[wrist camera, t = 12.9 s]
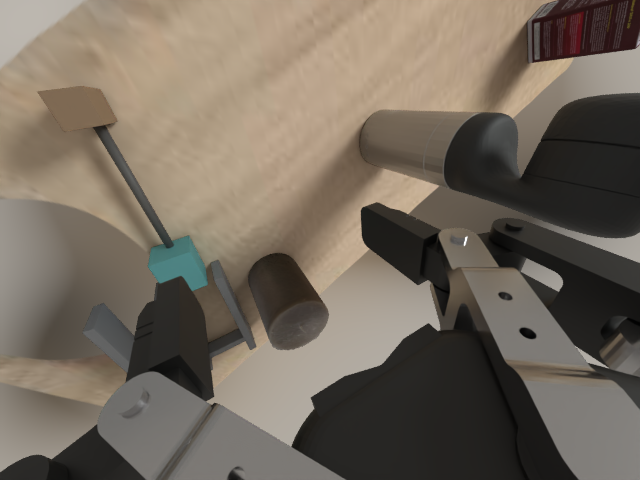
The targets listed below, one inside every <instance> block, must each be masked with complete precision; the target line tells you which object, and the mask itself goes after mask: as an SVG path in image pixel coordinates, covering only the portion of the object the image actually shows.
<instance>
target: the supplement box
mask: <svg viewBox="0 0 640 480" xmlns="http://www.w3.org/2000/svg"><path fill="white" fill-rule="evenodd" d="M527 24H528V62H529V63H534V62H542V61H549V60H557V59H564V58H572V57H579V56H587V55H594V54H602V53H609V52H617V51H624V50H632V49H636V48H637V47H638V46H639V45H640V0H557V1H554V2H550V3H547V4H543V5H542V6H541V7H540V9H539V10H538V11H537V12H536V13H535V14H534V15H533V16H532V17H531V18H530V19H529V21H528V22H527Z"/></svg>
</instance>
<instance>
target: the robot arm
mask: <svg viewBox="0 0 640 480" xmlns="http://www.w3.org/2000/svg"><path fill="white" fill-rule="evenodd" d="M517 146H518V131H517V126H516V124H515V122H514V120H513V119H512V118H511V117H510V116H508V115H506V114H503V113H487V112H443V111H407V110H380V111H378V112H376V113H374V114H373V115H372V116H370V118H369V119H368V120H367V121H366V123H365V125H364V127H363V129H362V132H361V137H360V150H361V153H362V156H363V157H364V159H365V160H366V161H367V162H368V163H370V164H372V165H376V166H379V167H382V168H385V169H388V170H391V171H394V172H398V173H401V174H404V175H407V176H410V177H414V178H417V179H420V180H423V181H426V182H430V183H433V184H436V185H439V186H443V187H446V188H449V189H452V190H455V191H459V192H463V193H466V194H469V195H472V196H476V197H479V198H482V199H485V200H488V201H491V202H494V203H497V204H500V205H503V206H505V207H508V208H511V209H513V210H516V211H519V212H521V213H524V214H526V215H529V216H532V217H534V218H537V219H540V220H542V221H545V222H548V223H551V224H553V225H556V226H559V227H562V228H565V229H568V230H572V231H576V232H579V233H583V234H587V235H592V236H597V237H604V238H626V237H630V236H634V235H636V234H637V233H639V232H640V93H625V94H611V95H600V96H593V97H587V98H583V99H579V100H575V101H573V102H570V103H568V104H566V105H565V106H563V107H562V108H561V109H560V110H559V111H558V112H557V114H556V115H555V116H554V118H553V119H552V121H551V123H550V124H549V126H548V128H547V130H546V132H545V133H544V135H543V137H542V139H541V142H540V143H539V144H538V146H537V148H536V150H535V152H534V154H533V156H532V158H531V160H530V162H529V164H528V165H527V167H526V169H525V171H524V174H523V175H522V177H521V176H520V173H519V170H518V166H517ZM361 227H362V238H363V241H364V243H365V245H366V246H367V247H368V248H370V249H371V250H372V251H373V252H375V253H376V254H377V255H379V256H380V257H382V258H383V259H384V260H385V261H387V262H388V263H389V264H391V265H392V266H393V267H395V268H396V269H397V270H399V271H400V272H401V273H402V274H404V275H405V276H406V277H408V278H409V279H410V280H412V281H413V282H414V283H416V284H417V285H420V284H421V283H423V282H425V281H427V280H429V281H430V282H431V284H430V290H431V293H432V297H433V301H434V304H435V308H436V311H437V315H438V319H439V322H440V331H437V330H436V329H434V328H433V327H432V326H431V325H430V324H427V325H425V326H423V327H422V328H420V329H419V330H417V331H415V332H414V333H412V334H411V335H409V336H407V337H406V338H404V339H403V340H402V341H401V343H400V344H399V345H398V346H397V347H396V349H395V350H394V351H393V352H392V353H391V355H390V356H389V357H388V358H387V359H386V361H385V362H384V363H383V364H382V365H380V366H377V367H374V368H371V369H368V370H364V371H361V372H358V373H354V374H351V375H348V376H344V377H343V378H341V379H339V380H338V381H336V382H335V383H333V384H331V385H330V386H328V387H327V388H325V389H324V390H322V391H320V392H319V393H317V394H316V395H314V396H313V397H311V400H312V402H313V406H314V410H313V411H312V412H311V413H310V415H309V416H308V417H307V419H306V420H305V422H304V423H303V424H302V426H301V428H300V429H299V431H298V433H297V435H296V437H295V439H294V441H293V444H292V446H291V447H290V446H289V445H287V444H285V443H284V442H282V441H280V440H279V439H277V438H275V437H274V436H272V435H270V434H269V433H267V432H265V431H263V430H262V429H260V428H259V427H257V426H255V425H254V424H252V423H250V422H248V421H247V420H245V419H243V418H242V417H240V416H238V415H237V414H235V413H234V412H232V411H230V410H229V409H227V408H225V407H224V406H221V405H220V404H217V403H214V404H213V405H211V404H209V403H207V402H206V401H207V400H209V399H211V398H213V397H214V393H213V383H212V375H211V366H210V357H209V349H208V340H207V332H206V323H205V317H204V313H203V310H202V308H201V305H200V304H199V302H198V300H197V299H196V297H195V295H194V294H193V292H192V290H191V289H190V287H189V285H188V284H187V282H186V281H185V279H184V278H183V277H182V276H179V277H176V278H173V279H171V280H168V281H165V282H163V283H160V284H158V289H157V297H156V300H154V301H152V302H149V303H147V304H146V306H145V308H144V309H143V310H142V312H141V313H140V315H139V316H138V321H137V326H136V330H137V331H136V332H135V337H134V340H135V342H133V347H132V352H131V357H130V362H129V367H128V373H127V378H126V383H125V384H123V385H122V386H121V387H120V388H119V389H118V390H117V391H116V392H115V393H114V394H113V395H112V396H111V397H110V399H109V400H108V401H107V403H106V404H105V406H104V407H103V409H102V411H101V413H100V416H99V419H98V424H97V425H96V426H94V427H93V428H92V429H91V430H90V431H88V432H87V433H86V434H84V435H83V436H82V437H80V438H79V439H78V440H76V441H75V442H74V443H73V444H71V445H70V446H69V447H67V448H66V449H65V450H63V451H62V452H61V453H60V454H59V455H57V456H56V457H54V458H53V459H49V458H47V457H45V456H42V455H32V456H29V457H26V458H23V459H21V460H19V461H17V462H15V463H14V464H12V465H10V466H9V467H7V468H6V469H5V470H3V471H2V472H0V480H640V263H638V262H635V261H633V260H630V259H627V258H624V257H622V256H619V255H616V254H614V253H611V252H608V251H605V250H603V249H600V248H597V247H595V246H592V245H589V244H586V243H584V242H581V241H578V240H575V239H573V238H570V237H567V236H565V235H562V234H559V233H556V232H554V231H551V230H548V229H546V228H543V227H540V226H537V225H535V224H532V223H529V222H527V221H523V220H520V219H514V218H502V219H498V220H495V221H494V222H493V224H492V227H491V230H490V232H488V233H482V234H475V233H473V232H472V231H469V230H466V229H462V228H448V229H445V230H442V231H441V230H439V229H437V228H435V227H433V226H431V225H429V224H427V223H425V222H423V221H420V220H418V219H417V220H416V218H414V217H412V216H409V215H408V214H406V213H404V212H402V211H400V210H395V209H390V208H388V207H386V206H384V205H382V204H380V203H377V202H376V203H373V204H371V205H368V206H365V207H363V208H362V209H361ZM526 258H528V259H530V260H532V261H534V262H536V263H538V264H540V265H543V266H545V267H546V268H549V269H551V270H553V271H555V272H556V273H558V274H559V275H560V276H561V277H562V279H563V286H562V288H561V289H560V291H559V292H558V291H556V290H554V289H552V288H550V287H548V286H546V285H544V284H542V283H541V282H539V281H537V280H535V279H533V278H531V277H529V276H527V275H525V274H524V273H522V272H521V269H522V267H523V265H524V263H525V260H526ZM574 345H575V346H576V347H578V348H579V349H581V350H582V351H584V352H586V353H588V354H589V355H590V356H592V357H593V358H595V359H596V360H598V361H599V362H601V363H602V364H604V365H606V366H607V367H609V369H608V368H605V367H601V366H597V365H594V364H590V363H587V362H586V360H585V359H584V358H583V356H582V355H581V354H580V352H579V351H578V350H577V348H576V347H575V346H574Z"/></svg>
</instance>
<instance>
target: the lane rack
mask: <svg viewBox="0 0 640 480" xmlns="http://www.w3.org/2000/svg"><path fill="white" fill-rule="evenodd" d="M211 267H212V272H213V277H214V281H215V283H216V285H217V287H218V289H219V291H220V293H221V295H222V296H223V298H224V300H225V302H226V304H227V306H228V308H229V310H230V312H231V314H232V316H233V318H234V320H235V322H236V323H237V325H238V327H239V329H238V330H236V331H233V332H231V333H229V334H227V335H225V336H223V337H221V338H219V339H217V340H215V341H213V342H210V343H208V349H209V357H210V366H211V370H213V366H212V357H214V356H216V355H218V354H220V353H222V352H224V351H226V350H228V349H230V348H232V347H234V346H236V345H238V344H240V343H242V342H244V341H246V343H247V345H248V347H249V349H250V350H252V349H254V348H255V347H256V344H255V341H254V338H253V334H252V331H251V328H250V326H249V324H248V322H247V320H246V318H245V315H244V313H243V311H242V309H241V307H240V305H239V303H238V301H237V299H236V296H235V294H234V292H233V290H232V288H231V286H230V284H229V282H228V280H227V278H226V275H225V273H224V271H223V269H222V267H221V265H220V263H219V261H218V260H217V261H214V262H212V263H211ZM158 284H159V282H158V283H156V289H155V297H154V300H156V297H157V289H158ZM83 334H84V335H85V336H86V337H87V338H88V339H90V340H91V341H92V342H93V343H94V344H95V345H96V346H98V347H99V348H100V349H101V350H102V351H103V352H104V353H105V354H106V355H108V356H109V357H110V358H111V359H112V360H113V361H114V362H115V363H117V364H118V365H119V366H120V367H121V368H122V369H123V370H124V371H125V372H127V373H128V367H129V362H130V357H131V352H132V347H133V342H135V340H134V337H135V336H134V335H133V334H132V333H131V332H130V331H129V330H128V329H127V328H126V327H125V326H124V325H123V324H122V322H120V320H119V319H118V318H117V317H116V316H115V315H114V314H113V313H112V312H111V311H110V310H109V309H108V308H107V306H106V305H105V304H104V303H102V304H100V305H97V306H94V307H93V309H92V312H91V314H90V316H89V319H88V321H87V323H86V326H85V328H84V330H83Z"/></svg>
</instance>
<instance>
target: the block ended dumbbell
mask: <svg viewBox="0 0 640 480" xmlns="http://www.w3.org/2000/svg"><path fill="white" fill-rule="evenodd" d="M38 94H39V95H40V97H41V98H42V100H43V101H44V103H45V104H46V106H47V107H48V109H49V110H50V112H51V113H52V115H53V116H54V118H55V119H56V121H57V122H58V123H59V125H60V126H61V128H62V129H63V131H64V132H67V131H73V130H78V129H84V128H90V127H93V128H94V129H95V131H96V133H97V134H98V136H99V138H100V139H101V141H102V143H103V144H104V146H105V148H106V149H107V151H108V153H109V154H110V156H111V158H112V159H113V161H114V162H115V164H116V166H117V167H118V169H119V171H120V172H121V174H122V176H123V177H124V179H125V181H126V182H127V184H128V186H129V187H130V189H131V190H132V192H133V194H134V195H135V197H136V199H137V200H138V202H139V204H140V205H141V207H142V209H143V210H144V212H145V214H146V215H147V217H148V218H149V220H150V222H151V223H152V225H153V227H154V228H155V230H156V232H157V233H158V235H159V237H160V238H161V240H162V242H163V243H164V244H162V245H159V246H156V247H153V248H151V253H150V258H149V263H148V268H149V269H150V271H151V272H152V273H153V275H154V276H155V278H156V279H157V281H158V282H159V284H160V283H163V282H165V281H168V280H171V279H173V278H176V277H179V276H182V277H183V278H184V279H185V281H186V282H187V284H188V285H189V287H190V289H191V290H192V291H194V290H196V289H199V288H201V287H204V286H206V285H208V282H207V275H206V269H205V265H204V263H203V262H202V260H201V258H200V256H199V254H198V252H197V250H196V248H195V246H194V244H193V242H192V241H191V239H190V237H189V236H186V237H183V238H180V239H177V240H174V241H172V240H171V239H170V237H169V235H168V233H167V232H166V230H165V228H164V227H163V225H162V223H161V221H160V220H159V218H158V216H157V214H156V213H155V211H154V209H153V208H152V206H151V204H150V202H149V201H148V199H147V197H146V196H145V194H144V192H143V190H142V189H141V187H140V185H139V183H138V182H137V180H136V178H135V177H134V175H133V173H132V171H131V170H130V168H129V166H128V164H127V163H126V161H125V159H124V158H123V156H122V154H121V152H120V151H119V149H118V147H117V145H116V144H115V142H114V140H113V139H112V137H111V135H110V133H109V132H108V130H107V128H106V127H105V125H106V124H110V123H114V122H117V119H116V117H115V115H114V113H113V112H112V110H111V108H110V106H109V104H108V102H107V101H106V99H105V97H104V95H103V93H102V91H101V90H100V89H95V88H90V87H85V86H78V87H70V88H62V89H54V90H46V91H38Z"/></svg>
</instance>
